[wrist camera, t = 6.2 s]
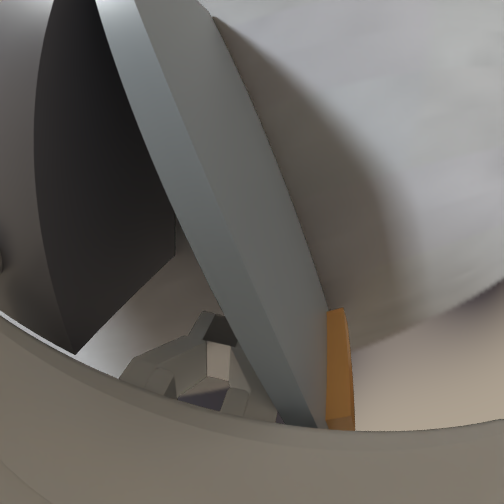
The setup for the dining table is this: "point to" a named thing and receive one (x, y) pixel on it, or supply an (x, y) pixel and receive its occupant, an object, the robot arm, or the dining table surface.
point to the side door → (233, 204)
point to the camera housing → (71, 176)
